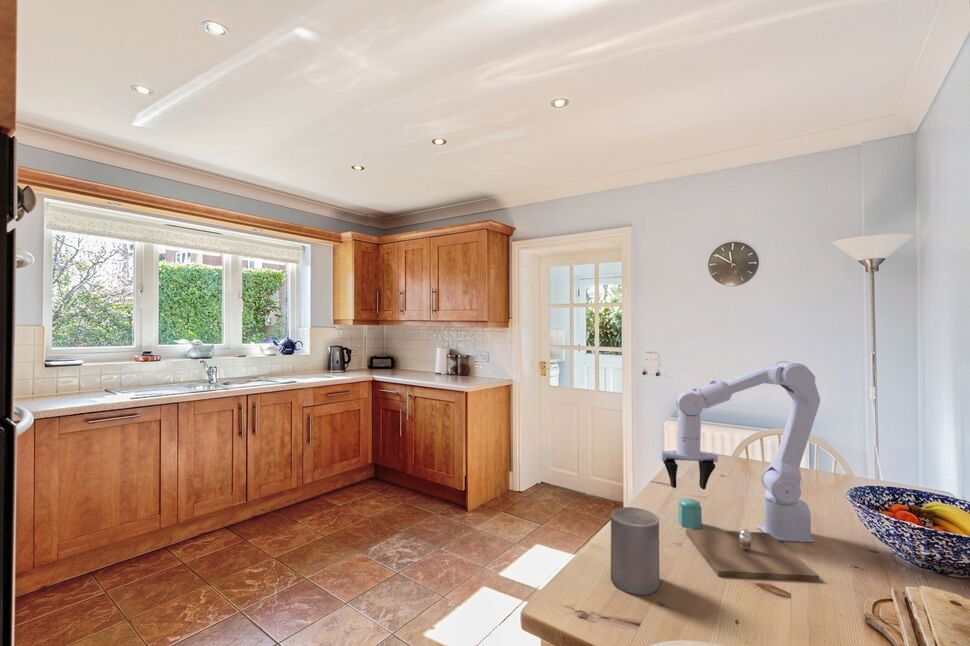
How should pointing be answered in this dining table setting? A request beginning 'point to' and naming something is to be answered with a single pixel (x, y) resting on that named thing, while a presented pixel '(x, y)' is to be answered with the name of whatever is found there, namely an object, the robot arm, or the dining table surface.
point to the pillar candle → (635, 550)
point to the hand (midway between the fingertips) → (687, 487)
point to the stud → (745, 539)
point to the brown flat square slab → (749, 556)
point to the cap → (689, 513)
